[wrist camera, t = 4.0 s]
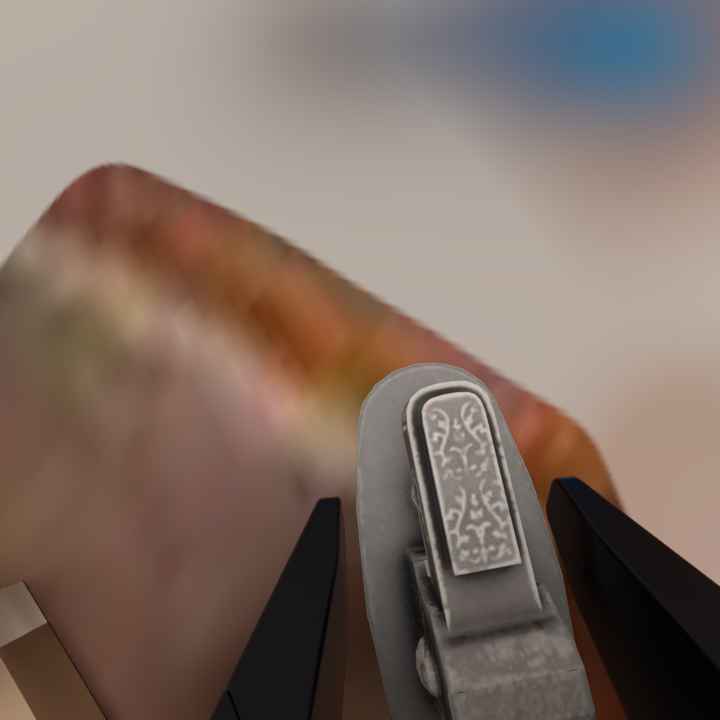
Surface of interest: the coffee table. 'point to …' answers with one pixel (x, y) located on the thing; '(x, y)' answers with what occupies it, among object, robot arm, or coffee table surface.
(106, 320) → the coffee table surface
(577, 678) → the lighter
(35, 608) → the board
